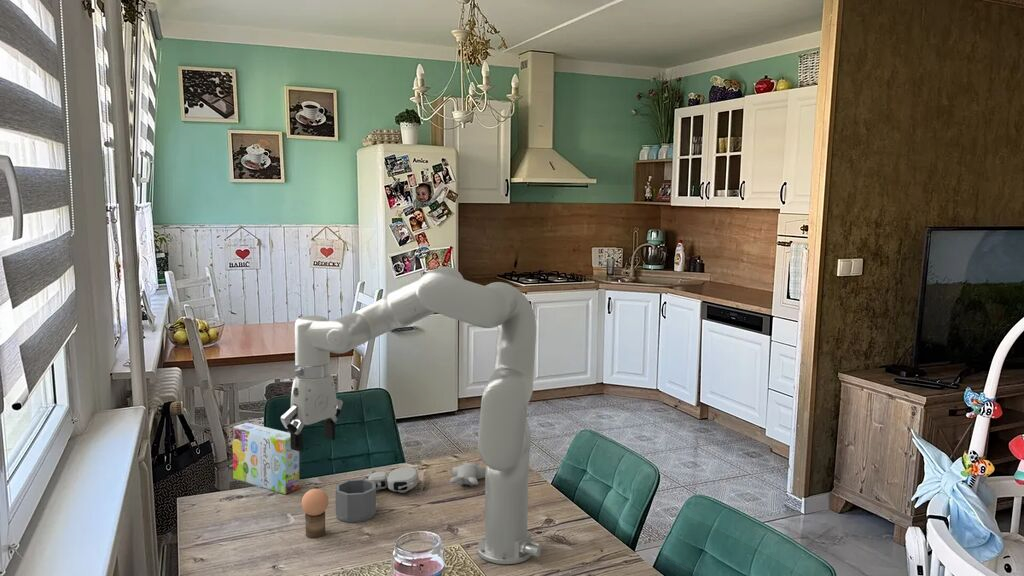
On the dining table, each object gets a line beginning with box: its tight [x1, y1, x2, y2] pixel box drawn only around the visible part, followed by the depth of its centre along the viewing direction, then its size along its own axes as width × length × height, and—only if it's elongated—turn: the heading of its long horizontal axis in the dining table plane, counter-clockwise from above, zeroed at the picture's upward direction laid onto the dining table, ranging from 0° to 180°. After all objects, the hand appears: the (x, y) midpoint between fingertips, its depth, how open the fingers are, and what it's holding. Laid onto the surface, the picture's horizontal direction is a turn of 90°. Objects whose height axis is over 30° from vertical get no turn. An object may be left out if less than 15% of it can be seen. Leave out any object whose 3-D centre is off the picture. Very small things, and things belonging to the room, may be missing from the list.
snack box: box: [231, 422, 300, 495], centre depth 193 cm, size 21×6×15 cm, turn 59°
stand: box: [304, 510, 326, 539], centre depth 165 cm, size 4×4×5 cm
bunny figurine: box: [448, 462, 486, 487], centre depth 196 cm, size 10×5×15 cm
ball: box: [301, 488, 329, 516], centre depth 164 cm, size 6×6×6 cm
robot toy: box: [363, 465, 420, 494], centre depth 192 cm, size 12×4×15 cm
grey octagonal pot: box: [335, 478, 377, 523], centre depth 175 cm, size 10×10×7 cm
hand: (313, 444), depth 162 cm, fingers open, 9 cm apart
